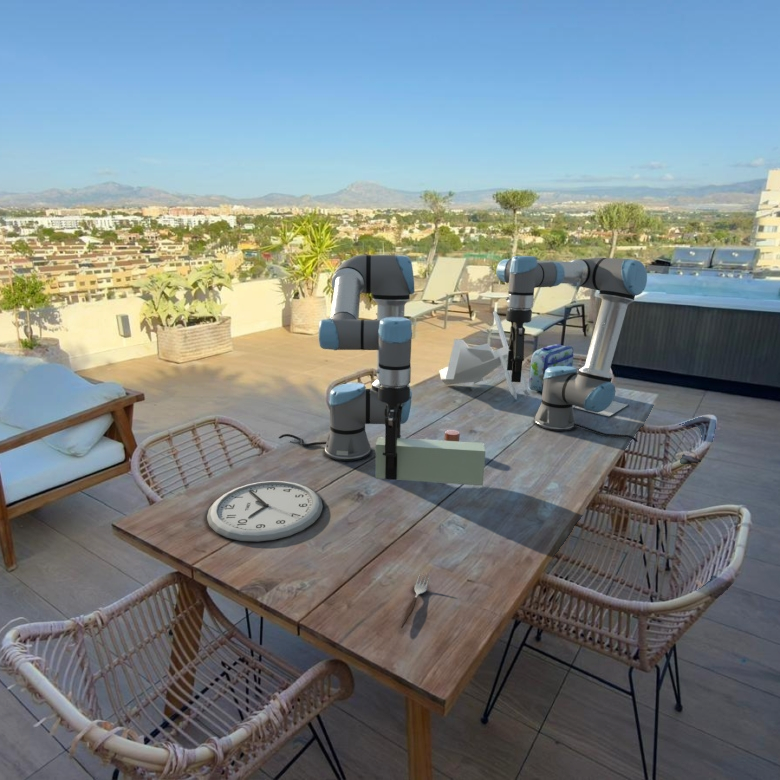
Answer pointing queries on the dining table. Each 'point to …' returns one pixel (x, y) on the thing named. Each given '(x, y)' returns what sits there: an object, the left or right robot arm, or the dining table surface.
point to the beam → (435, 461)
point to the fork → (419, 589)
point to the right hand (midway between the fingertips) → (513, 375)
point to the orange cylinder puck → (452, 435)
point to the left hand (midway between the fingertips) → (392, 473)
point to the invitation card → (608, 409)
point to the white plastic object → (479, 362)
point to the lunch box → (548, 363)
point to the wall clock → (264, 511)
